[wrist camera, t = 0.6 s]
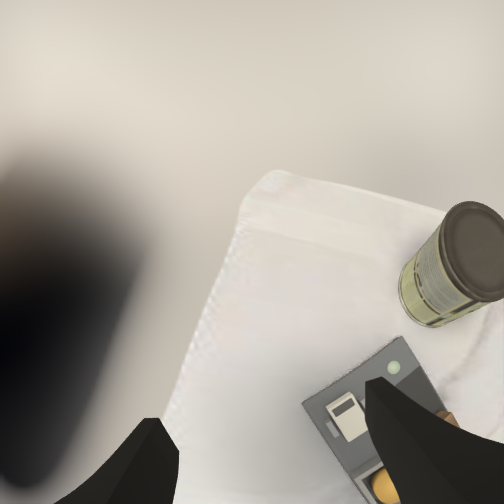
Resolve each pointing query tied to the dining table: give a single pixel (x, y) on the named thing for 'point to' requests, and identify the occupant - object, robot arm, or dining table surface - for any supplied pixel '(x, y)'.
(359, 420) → the rocker switch
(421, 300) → the coffee can
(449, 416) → the block
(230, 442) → the dining table surface
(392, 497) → the push button
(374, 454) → the panel
